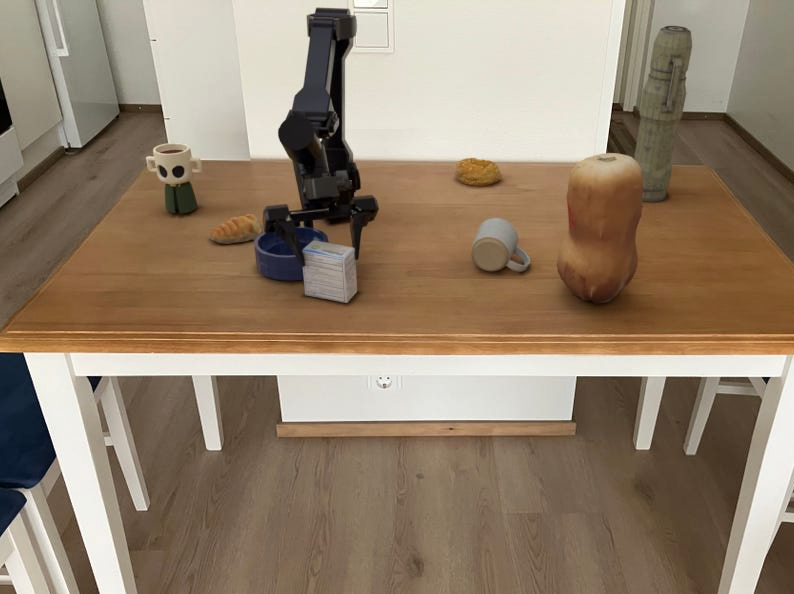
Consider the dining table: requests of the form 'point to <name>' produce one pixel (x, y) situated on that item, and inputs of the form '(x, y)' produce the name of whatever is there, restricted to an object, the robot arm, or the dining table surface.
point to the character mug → (176, 175)
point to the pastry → (237, 230)
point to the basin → (283, 253)
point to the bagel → (477, 172)
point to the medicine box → (329, 271)
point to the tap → (305, 224)
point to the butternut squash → (601, 226)
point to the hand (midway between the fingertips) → (330, 262)
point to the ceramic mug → (497, 246)
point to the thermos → (662, 109)
